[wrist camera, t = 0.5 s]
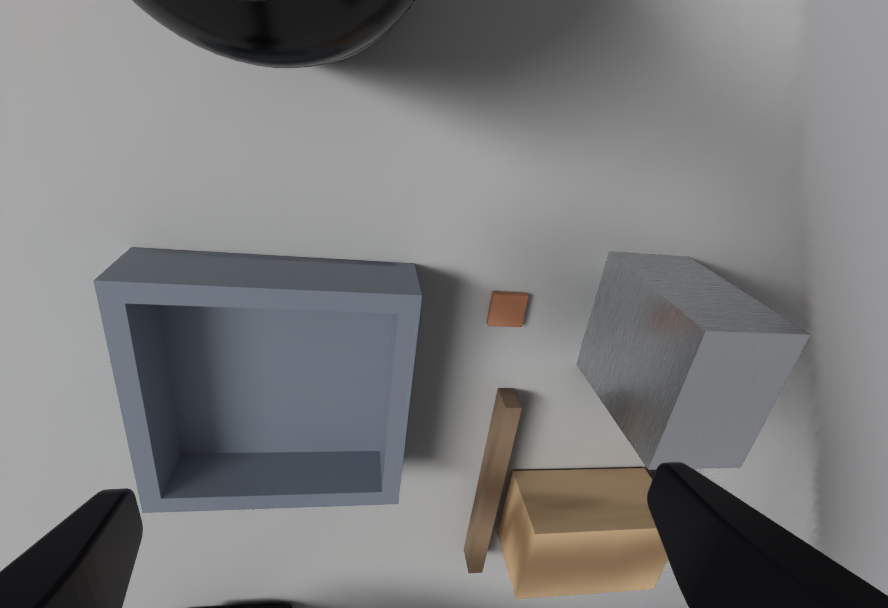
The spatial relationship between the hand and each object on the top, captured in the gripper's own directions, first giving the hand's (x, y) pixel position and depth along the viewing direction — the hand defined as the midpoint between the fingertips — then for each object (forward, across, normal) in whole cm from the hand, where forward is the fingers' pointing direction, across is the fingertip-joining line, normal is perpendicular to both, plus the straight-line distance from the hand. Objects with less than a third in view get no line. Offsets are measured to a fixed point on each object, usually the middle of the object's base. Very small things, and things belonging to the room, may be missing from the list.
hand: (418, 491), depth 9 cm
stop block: (+13, -12, +3) cm, 18 cm away
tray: (+13, +4, +6) cm, 15 cm away
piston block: (+13, -11, +16) cm, 23 cm away
